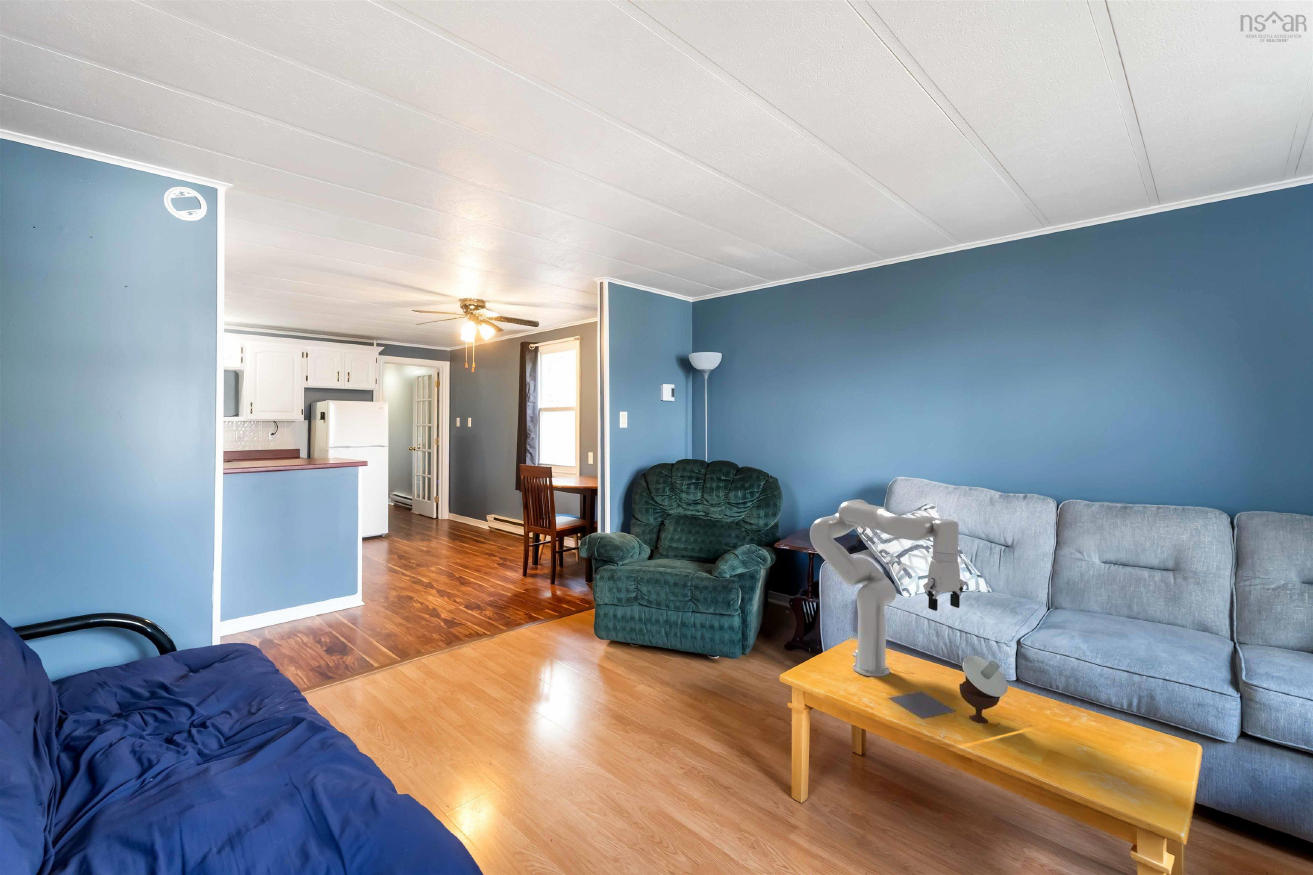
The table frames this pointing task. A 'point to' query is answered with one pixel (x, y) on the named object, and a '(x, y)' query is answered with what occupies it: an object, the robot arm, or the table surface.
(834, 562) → the robot arm
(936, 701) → the mat
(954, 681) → the table surface
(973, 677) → the lid
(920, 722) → the table surface
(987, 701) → the ice cream bowl
